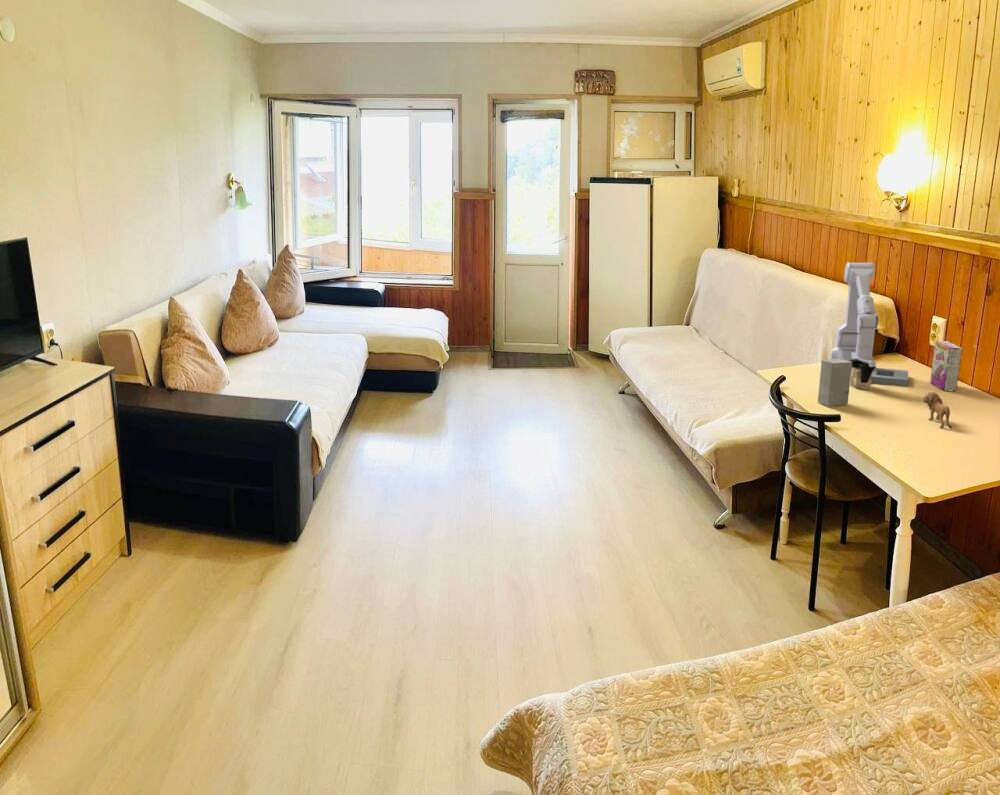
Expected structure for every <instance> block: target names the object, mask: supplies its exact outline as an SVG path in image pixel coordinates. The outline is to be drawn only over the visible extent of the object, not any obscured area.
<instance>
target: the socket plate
mask: <svg viewBox="0 0 1000 795" xmlns="http://www.w3.org/2000/svg"><path fill="white" fill-rule="evenodd" d="M877 383H880V384H879V385H888V386H900V387H908V384H909V370H905V369H892V368H881V367H876V368H875V369H874V370H873V372H872V379H871V384H877Z"/></svg>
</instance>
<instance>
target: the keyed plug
mask: <svg viewBox="0 0 1000 795" xmlns="http://www.w3.org/2000/svg"><path fill="white" fill-rule="evenodd" d="M871 379H872V373H871V375H870V378H869V380H868V382H867V383H862V382H861V370H860V368H852V370H851V377H850V387H851V386H852V387H851V388H853V387H854V388H853V389H855V388H861V389H871V386H872V383H871Z"/></svg>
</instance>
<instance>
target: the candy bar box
mask: <svg viewBox="0 0 1000 795" xmlns="http://www.w3.org/2000/svg"><path fill="white" fill-rule="evenodd" d="M934 342H935V343H934V348H933V355H932V356H933V358H932V365H931V373H930V381H929V383H930V384H931V383H932V384H931V385H933V386H935V387H936V386H937V388H938V387H939V388H938V389H939V390H941V389H942V391H943V390H944V391H943V392H950V391H949V390H956V391H957V388H958V382H959V375H960V368H961V367H960V366H961V361H962V354H963V348H962V347H960V346H958V345H956V344H954V343H952V342H950V341H949V340H948V341H947V340H936V341H934Z"/></svg>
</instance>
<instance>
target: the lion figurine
mask: <svg viewBox="0 0 1000 795" xmlns="http://www.w3.org/2000/svg"><path fill="white" fill-rule="evenodd" d="M922 401H923V404H926V406H928V409H929V411H930V417H929V418H928V419H927V420H928V421H934V415H935V413H936V417H935V420H937V421H940V424H941V425H940V426H939V428H940V429H944V428H945V426H947V428H948V429H953V427H952V426H951V424H949V422H950V416H951V410H950V407H949V406H948V405H944V403H943V400H942V398H941V396H940V395H939V394H938V393H936V392H935V391H928V394H926V395H925V396H923V397H922ZM944 416H945V421H944Z"/></svg>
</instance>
